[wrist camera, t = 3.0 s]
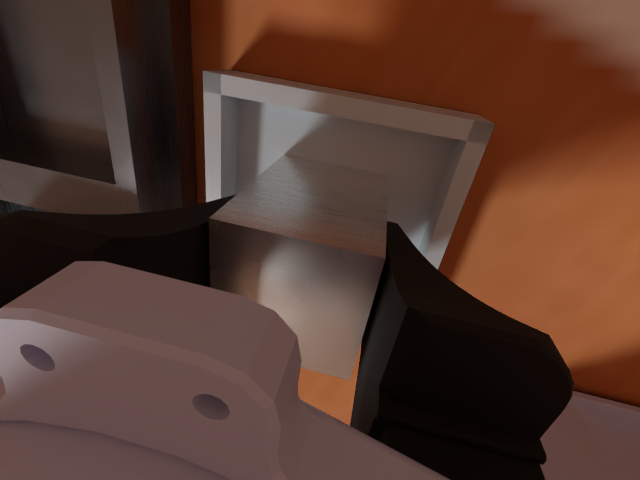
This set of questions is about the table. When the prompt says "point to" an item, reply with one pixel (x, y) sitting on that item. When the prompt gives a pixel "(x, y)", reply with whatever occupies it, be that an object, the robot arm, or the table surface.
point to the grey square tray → (346, 145)
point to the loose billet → (306, 253)
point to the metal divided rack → (96, 106)
